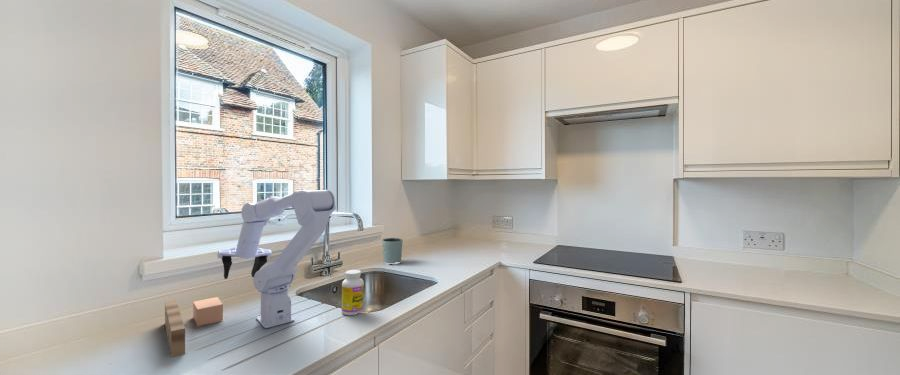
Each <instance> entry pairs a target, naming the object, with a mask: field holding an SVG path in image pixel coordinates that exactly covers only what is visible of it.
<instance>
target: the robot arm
mask: <svg viewBox="0 0 900 375" xmlns="http://www.w3.org/2000/svg"><path fill="white" fill-rule="evenodd" d="M335 198H336V197H335V195H334V193H333V192H332V191H331V190H329V189H323V190H322V189H321V190H304V189H303V190H302V189H301V190H297V191H293V192H292V193H289V194H287V195H285V196H283V197H279V196H275V195H268V196H266V199H258V200H257V202H254V203H253V202H246V203H245V204H244V205H242V208H241V210H240V211H241V217H242V220H243V221H242V226H241V229H240V234H239V236H238V240H237V244H236V246H235V247H230V248H224V249H218V251H217V255H216V256H217V259H221V261H222V265H223V277H224V280H227V279H228V278H229V274H230V270H231V267H232V264H233V262H232V259H233V258H240V259H241V258H242V259H252V258H254V262H253V265H252V269H251V273H250V274H251V277H252V278H253V279H252V280H253V281H252V282H253V286H254V288H255V289H256V290H257V292H258V293H260V315H257V316H256V320H257V321H258V322H259V324H260V326H262V327H263V328H264V329H268V328H273V327H276V326H280V325H284V324H287V323H292V322H294V321H295V318H294V317H293V316H292V299H291V298H290V296H289V288H291V285H292V283H293V282H294V280H295V276H296V274H297V273H298V268H297V266H298V264H299V263H300V261H302V259H303V258H304V257H305V256H306V254H307V253H308V252H309V251H310V249H311V248H312V247H313V246H314V245H315V243H316V242H317V241H318V240H319V238H320V237H321V236H322V235H323V234H324V232H325V230H326V228H327V224H328V221H329V219H330V217H331V215H332V214H333V213H334V211H335V210H336V207H337V206H336V199H335ZM289 208H292V209H293V210H294V213H295V216H296V220H297V222H298V223H297V224H298V225H299V226H301V227H300V229H299V230H298V231H297V232H296V234H295V235H294V236H292V237H293V238H292V239H291V240H290V241H289V243H288V244H287V245H286V246H285V248H284V249H283V250H282V251H281V252H280V254H279V255H278V256H277V257H276V259H275V260H273V261H272V262H270V263H268V264H267V262H268V259H269V258H271V257H272V253H273V252H272V250H271V249H269V248H267V249H266V248H260V247H259V244H260V242H261V238H262V233H263V230H264V227H266V225H267V223H268V221H270V220H271V218H274V217H277V216H280V215H282V214H283V213H284V212H285V210H286V209H289ZM265 264H266V265H265ZM262 267H263V268H262ZM261 268H262V269H261Z"/></svg>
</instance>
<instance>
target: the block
mask: <svg viewBox="0 0 900 375" xmlns="http://www.w3.org/2000/svg"><path fill="white" fill-rule="evenodd" d="M192 318H193V320H194V323H195V325H196V326H197V327H200V326H201V325H202V326H204V325H205V324H206V325H209V323H210V324H213V322H214V323H218V322H222V321H224V303H223V302H222V300H220V298H219V297H218V296H216V297H215V296H214V297H211V298H206V299H205V298H204V299H200V300H196V301H192ZM221 320H222V321H221Z"/></svg>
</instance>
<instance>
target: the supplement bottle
mask: <svg viewBox="0 0 900 375" xmlns="http://www.w3.org/2000/svg"><path fill="white" fill-rule="evenodd" d="M344 274H345V279H344V280H343V281H342V282H341V313H342V314H343V315H345V316H356V313H359V314H361V313H363V310H364V298H365V297H364V291H365V289H364V286H365V282H364V280H363V278H361V275H362V272H361V270H360V269H350V270H349V269H348V270H346V271H345V273H344Z"/></svg>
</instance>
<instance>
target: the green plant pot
mask: <svg viewBox="0 0 900 375" xmlns="http://www.w3.org/2000/svg"><path fill="white" fill-rule="evenodd" d="M403 240H404V239H402V238H400V237H387V238H386V237H385V238H383V239H382V240H381V242H382V244H381V245H382V254H383V263H384V262H386V263H395V262H400V261H401V262H402V253H403Z"/></svg>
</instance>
